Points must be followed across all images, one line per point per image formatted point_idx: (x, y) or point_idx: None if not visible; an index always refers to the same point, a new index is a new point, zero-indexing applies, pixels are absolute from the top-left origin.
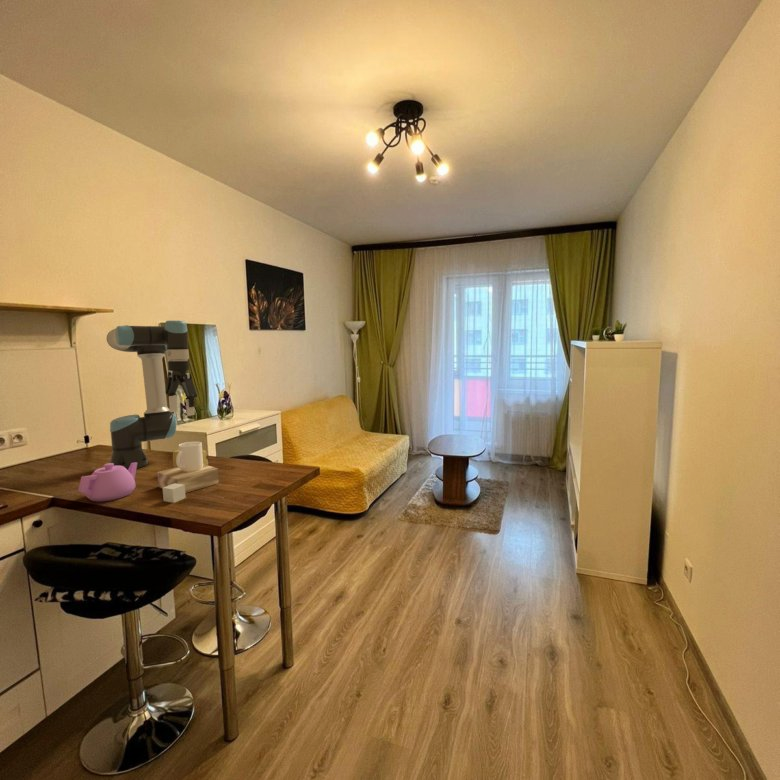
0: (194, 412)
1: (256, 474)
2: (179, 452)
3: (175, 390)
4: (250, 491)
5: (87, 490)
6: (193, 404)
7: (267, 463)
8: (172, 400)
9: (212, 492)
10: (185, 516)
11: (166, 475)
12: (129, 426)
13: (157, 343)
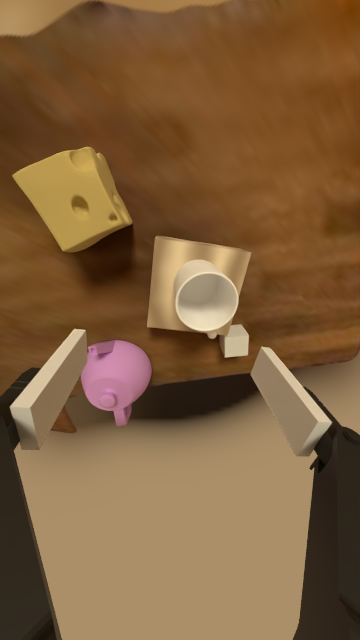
0: (275, 355)
1: (285, 154)
2: (213, 336)
3: (18, 480)
4: (333, 256)
5: (130, 406)
6: (316, 401)
7: (252, 16)
8: (55, 402)
9: (266, 290)
10: (293, 361)
11: (185, 330)
12: None
13: None
